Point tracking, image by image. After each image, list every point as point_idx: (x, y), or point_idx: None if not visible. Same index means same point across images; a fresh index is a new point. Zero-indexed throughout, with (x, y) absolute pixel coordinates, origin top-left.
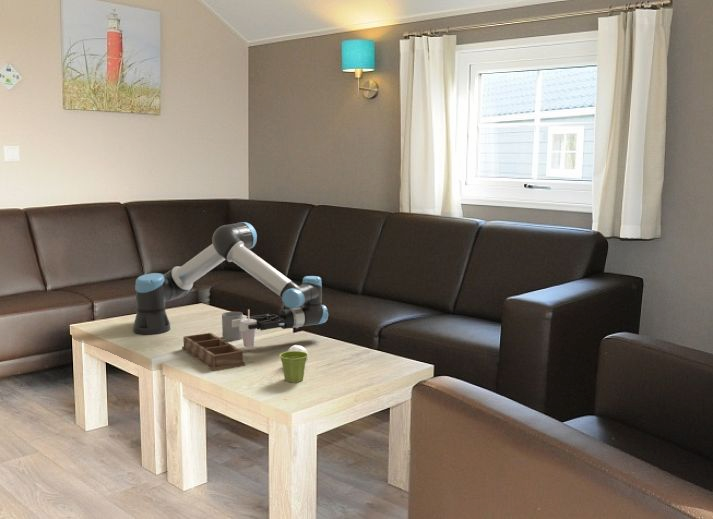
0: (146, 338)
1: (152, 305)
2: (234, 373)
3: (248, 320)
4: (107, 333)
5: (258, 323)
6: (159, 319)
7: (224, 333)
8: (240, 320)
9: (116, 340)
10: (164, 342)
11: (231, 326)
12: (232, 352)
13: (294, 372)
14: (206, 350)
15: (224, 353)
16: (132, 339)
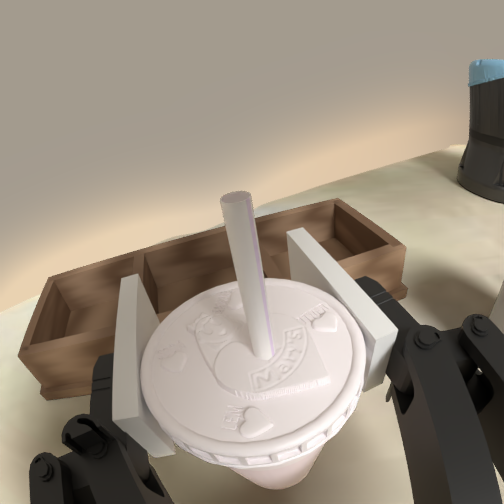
0: (432, 185)
1: (479, 121)
2: (12, 354)
3: (246, 346)
4: (444, 158)
5: (83, 446)
6: (486, 162)
7: (495, 303)
8: (323, 283)
9: (404, 164)
10: (408, 205)
11: None
12: (34, 323)
13: None
14: (115, 259)
15: (44, 301)
16: (418, 174)
